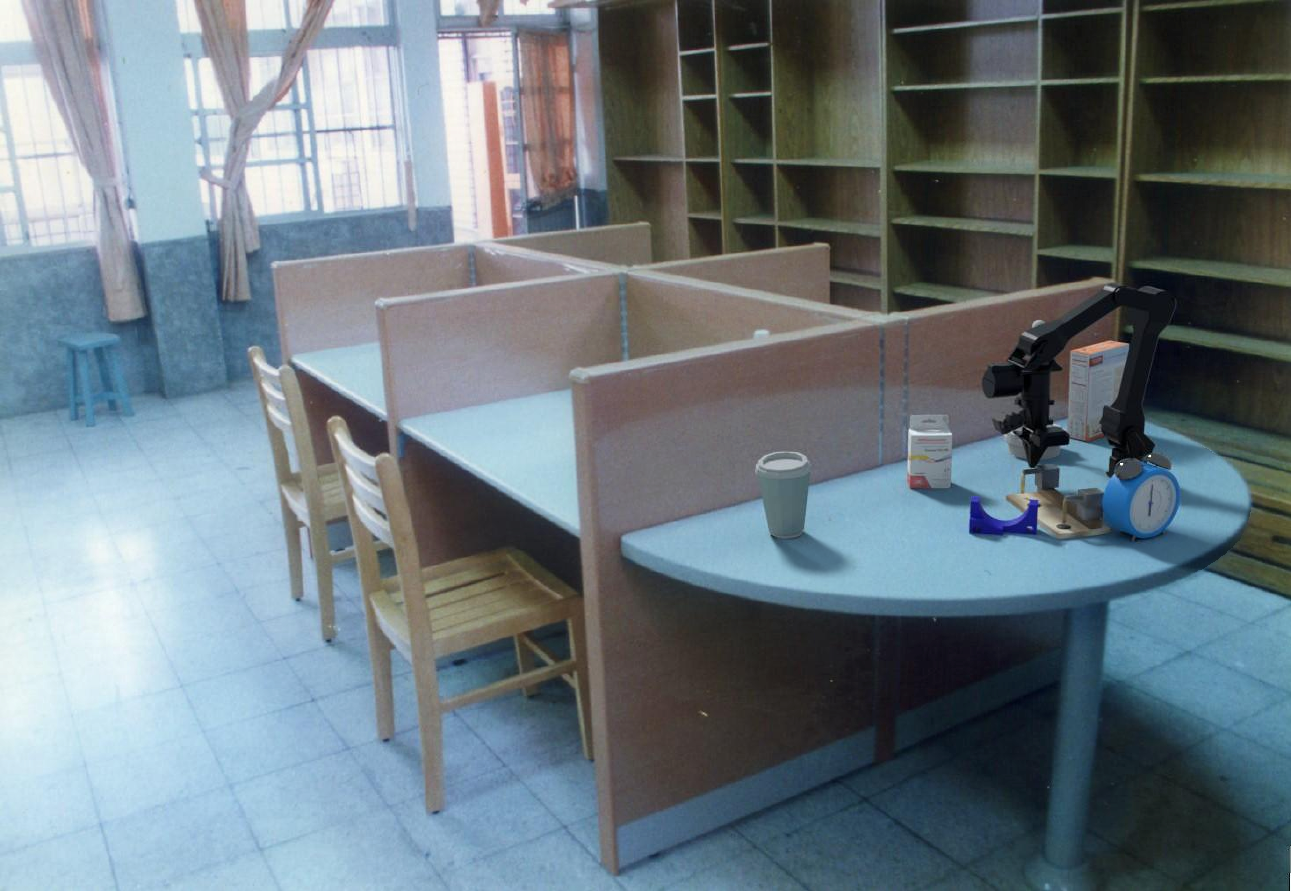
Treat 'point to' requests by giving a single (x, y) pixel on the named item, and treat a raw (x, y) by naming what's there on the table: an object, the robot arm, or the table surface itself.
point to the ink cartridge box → (929, 452)
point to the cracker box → (1093, 386)
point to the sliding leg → (1042, 476)
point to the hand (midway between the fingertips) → (1032, 467)
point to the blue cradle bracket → (992, 526)
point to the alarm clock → (1142, 496)
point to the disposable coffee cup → (784, 491)
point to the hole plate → (1066, 511)
